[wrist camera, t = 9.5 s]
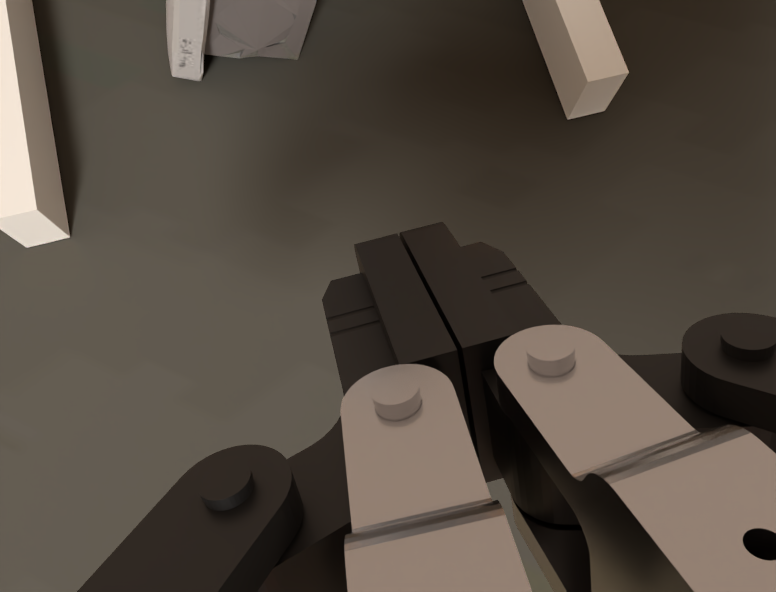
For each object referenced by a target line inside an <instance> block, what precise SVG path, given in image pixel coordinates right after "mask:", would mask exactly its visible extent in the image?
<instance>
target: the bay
mask: <svg viewBox="0 0 776 592" xmlns="http://www.w3.org/2000/svg"><path fill="white" fill-rule="evenodd" d="M522 1H523V4H524V7H525V9H526V12H527V15H528V17H529V20H530V22H531V25H532V28H533V30H534V33H535V36H536V38H537V41H538V44H539V46H540V49H541V51H542V54H543V57H544V59H545V62H546V65H547V67H548V70H549V73H550V75H551V78H552V80H553V83H554V86H555V88H556V91H557V94H558V96H559V99H560V102H561V104H562V107H563V109H564V112H565V115H566V117H567V120H569V119H573V118H577V117H581V116H586V115H590V114H594V113H598V112H603V111H605V110H606V108H607V107H608V105H609V103H610V102H611V100H612V99H613V97H614V96H615V94H616V92H617V91H618V89H619V88H620V86H621V84H622V83H623V81H624V80H625V78H626V77H627V75H628V73H629V71H628V69H627V66H626V64H625V62H624V59H623V57H622V54H621V52H620V49H619V47H618V45H617V42H616V40H615V37H614V35H613V33H612V30H611V28H610V25H609V23H608V20H607V18H606V16H605V13H604V11H603V8H602V6H601V4H600V1H599V0H522ZM0 229H1V230H2V231H4V232H5V233H6V234H8V235H9V236H11V237H12V238H14V239H15V240H16V241H18V242H19V243H21V244H22V245H24V246H25V247H26V248H27V247H32V246H36V245H40V244H44V243H49V242H53V241H57V240H61V239H65V238H70V233H69V226H68V220H67V214H66V208H65V202H64V196H63V189H62V183H61V177H60V171H59V165H58V158H57V152H56V146H55V140H54V134H53V128H52V121H51V115H50V109H49V103H48V97H47V90H46V84H45V78H44V72H43V66H42V60H41V53H40V47H39V41H38V35H37V29H36V22H35V16H34V10H33V4H32V0H0Z"/></svg>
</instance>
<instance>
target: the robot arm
mask: <svg viewBox="0 0 776 592" xmlns="http://www.w3.org/2000/svg"><path fill="white" fill-rule="evenodd" d="M399 237H400V238H399ZM354 246H355V252H356V257H357V261H358V266H359V270H360V273H359V274H355V275H352V276H348V277H344V278H340V279H336V280H332V281H331V282H330V284H329V286H328V288H327V290H326V292H325V294H324V297H323V299H322V302H323V306H324V311H325V315H326V319H327V324H328V328H329V332H330V336H331V341H332V345H333V349H334V354H335V358H336V362H337V367H338V371H339V375H340V380H341V384H342V388H343V393H344V398H343V400H342V404H341V416H340V418H339V419H338V421H337V423H336V424H335V425H334V427H333V428H332V429H331V430H330V431H329V432H328V433H327V434H326V435H325V436H324V437H323V438H321V439H320V440H319V441H317V442H316V443H315V444H313V445H311V446H310V447H308V448H306V449H305V450H303V451H301V452H299V453H297V454H296V455H294V456H292V457H290V458H288V459H286V458H285V457H284V456H283V455H282V454H281V453H279V452H278V451H276V450H274V449H272V448H269V447H266V446H261V445H241V446H235V447H231V448H227V449H224V450H221V451H219V452H216V453H214V454H212V455H210V456H208V457H206V458H205V459H203V460H201V461H200V462H198V463H197V464H195V465H194V466H193V467H192V468H190V469H189V470H188V471H187V472H186V473H185V474H184V475H183V476H182V477H181V478H180V479H179V480H178V481H177V482H176V484H175V485H174V486H173V487H172V488H171V489H170V490H169V491H168V492H167V493H166V495H165V496H164V497H163V498H162V499H161V500H160V501H159V502H158V503H157V504H156V506H155V507H154V508H153V509H152V510H151V511H150V512H149V513H148V514H147V515H146V517H145V518H144V519H143V520H142V521H141V522H140V523H139V524H138V525H137V526H136V528H135V529H134V530H133V531H132V532H131V533H130V534H129V535H128V536H127V537H126V538H125V540H124V541H123V542H122V543H121V544H120V545H119V546H118V547H117V548H116V549H115V551H114V552H113V553H112V554H111V555H110V556H109V557H108V558H107V559H106V560H105V562H104V563H103V564H102V565H101V566H100V567H99V568H98V569H97V570H96V571H95V573H94V574H93V575H92V576H91V577H90V578H89V579H88V580H87V581H86V582H85V584H84V585H83V586H82V587H81V588H80V589H79V590H78V591H77V592H532V590H531V587H530V584H529V581H528V578H527V576H526V573H525V570H524V567H523V564H522V561H521V558H520V555H519V553H518V550H517V547H516V544H515V541H514V538H513V535H512V533H511V530H510V527H509V524H508V521H507V518H506V516H505V513H504V511H503V508H502V506H501V504H500V503H499V501H498V500H496V501H492V499H491V497H490V494H489V491H488V488H487V485H486V483H487V482H490V481H494V480H497V479H501V478H504V480H505V482H506V485H507V487H508V489H509V491H510V493H511V500H512V508H513V516H514V520H515V523H516V526H517V528H518V530H519V532H520V533H521V535H522V537H523V539H524V540H525V542H526V544H527V546H528V547H529V549H530V551H531V553H532V554H533V556H534V558H535V560H536V561H537V563H538V565H539V567H540V568H541V570H542V572H543V574H544V575H545V577H546V579H547V580H548V582H549V584H550V586H551V587H552V589H553V591H554V592H776V318H774V317H770V316H765V315H759V314H750V313H728V314H720V315H715V316H711V317H708V318H705V319H703V320H701V321H699V322H697V323H695V324H694V325H692V326H691V327H690V328H689V329H688V330H687V331H686V333H685V335H684V336H683V341H682V353H675V354H656V355H617V354H616V353H615V352H614V351H613V350H612V349H611V348H610V347H609V346H608V345H607V344H606V343H605V342H604V341H603V340H601V339H600V338H599V337H598V336H596V335H594V334H593V333H591V332H589V331H586V330H584V329H581V328H577V327H573V326H566V325H562V324H561V323H560V322H559V321H558V319H557V318H556V317H555V316H554V314H553V313H552V312H551V311H550V310H549V308H548V307H547V306H546V305H545V303H544V302H543V301H542V300H541V298H540V297H539V296H538V295H537V293H536V292H535V291H534V290H533V288H532V287H531V286H530V285H529V284H527V281H526V280H525V278H524V277H523V276H522V275H521V273H520V272H519V271H517V270H516V267H515V266H514V265H513V263H512V262H511V261H510V260H509V258H508V257H507V256H506V255H505V253H504V252H502V251H500V250H498V249H495V248H493V247H491V246H489V245H487V244H484V243H482V242H478V243H474V244H470V245H466V246H463V247H460V246H459V244H458V243H457V241H456V240H455V238H454V237H453V235H452V234H451V233H450V231H449V230H448V228H447V227H446V225H445V224H444V223H443V222H440V223H436V224H432V225H428V226H424V227H420V228H416V229H412V230H408V231H404V232H401V233H400V235H399V236H398V234H393V235H389V236H385V237H382V238H378V239H374V240H370V241H366V242H362V243H358V244H354Z"/></svg>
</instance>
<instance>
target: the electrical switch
mask: <svg viewBox="0 0 776 592" xmlns="http://www.w3.org/2000/svg"><path fill="white" fill-rule="evenodd" d="M316 1H317V0H166V25H167V44H168V56H169V62H170V68H171V74H172V76H173V77H179V78H184V79H190V80H195V81H202V76H203V68H204V54H207V55H215V56H224V57H232V58H247V57H255V56H262V57H273V58H284V59H295V60H298V58H299V55H300V52H301V49H302V45H303V42H304V39H305V36H306V33H307V30H308V26H309V23H310V20H311V17H312V14H313V11H314V8H315V4H316Z"/></svg>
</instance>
